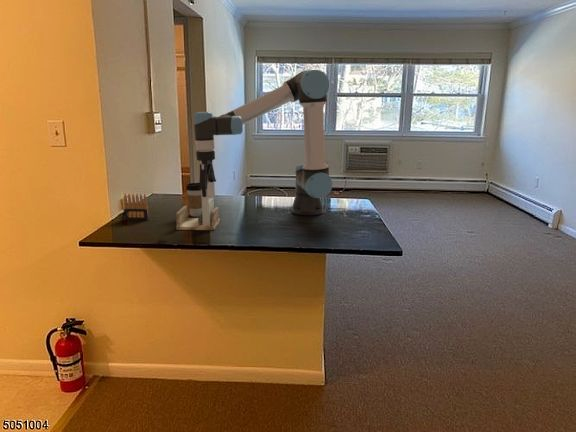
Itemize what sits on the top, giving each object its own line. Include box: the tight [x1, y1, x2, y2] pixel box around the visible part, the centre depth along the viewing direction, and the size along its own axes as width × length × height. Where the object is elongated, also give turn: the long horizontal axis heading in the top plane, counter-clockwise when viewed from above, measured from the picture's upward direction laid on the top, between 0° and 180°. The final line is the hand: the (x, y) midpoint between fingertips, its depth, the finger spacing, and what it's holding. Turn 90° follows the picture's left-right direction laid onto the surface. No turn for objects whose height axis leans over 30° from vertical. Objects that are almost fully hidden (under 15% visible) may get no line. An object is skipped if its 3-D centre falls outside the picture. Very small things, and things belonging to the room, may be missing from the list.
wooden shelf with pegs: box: [175, 205, 221, 231], centre depth 190 cm, size 16×14×7 cm
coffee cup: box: [185, 182, 202, 217], centre depth 205 cm, size 8×8×15 cm
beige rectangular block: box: [202, 196, 215, 226], centre depth 189 cm, size 3×10×10 cm, turn 178°
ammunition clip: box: [123, 193, 150, 221], centre depth 198 cm, size 11×2×12 cm, turn 88°
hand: (208, 200), depth 188 cm, fingers open, 13 cm apart
